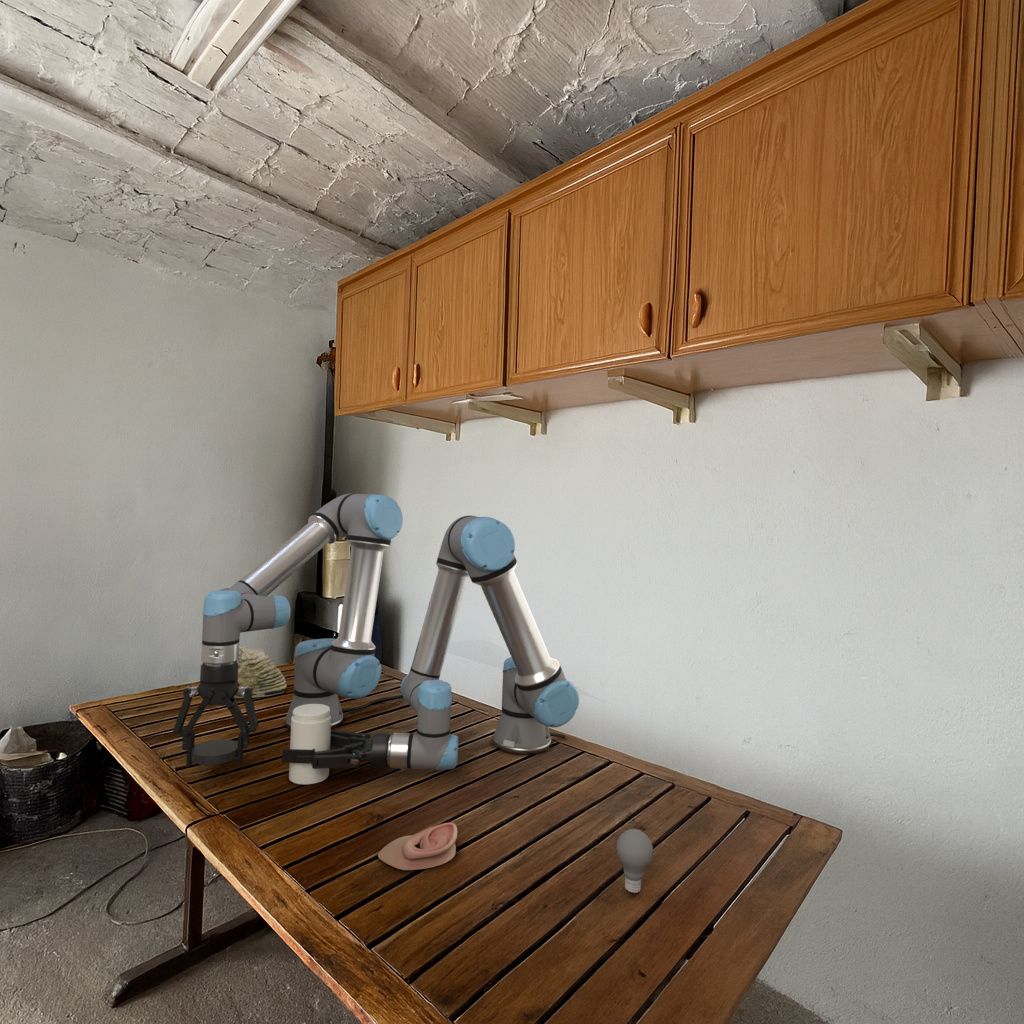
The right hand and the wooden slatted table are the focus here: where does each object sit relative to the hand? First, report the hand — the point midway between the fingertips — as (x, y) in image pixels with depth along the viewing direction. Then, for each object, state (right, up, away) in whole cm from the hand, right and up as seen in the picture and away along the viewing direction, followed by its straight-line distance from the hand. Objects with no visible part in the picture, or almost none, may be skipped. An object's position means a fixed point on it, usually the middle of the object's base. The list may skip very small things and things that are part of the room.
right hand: (289, 747), depth 143 cm
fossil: (-30, -4, +55) cm, 63 cm away
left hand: (-15, -2, -4) cm, 16 cm away
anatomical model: (+33, -8, -29) cm, 45 cm away
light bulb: (+70, -10, -37) cm, 80 cm away
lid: (-15, +1, -4) cm, 15 cm away
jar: (+4, -7, 0) cm, 8 cm away
